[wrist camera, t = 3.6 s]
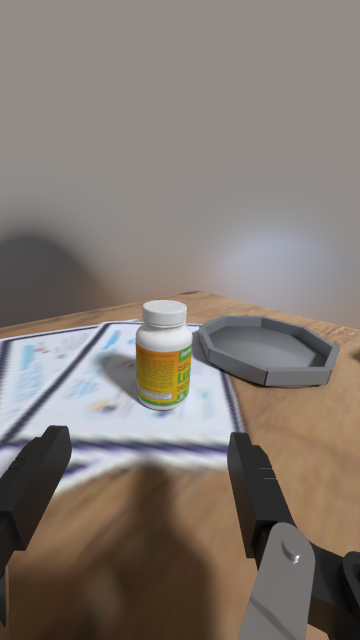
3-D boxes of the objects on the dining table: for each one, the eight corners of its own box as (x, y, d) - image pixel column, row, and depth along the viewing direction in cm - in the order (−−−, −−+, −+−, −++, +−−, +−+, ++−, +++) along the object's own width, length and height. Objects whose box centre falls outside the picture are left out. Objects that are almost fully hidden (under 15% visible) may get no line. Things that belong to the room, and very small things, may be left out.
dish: (176, 351, 32) (177, 336, 31) (234, 320, 45) (236, 309, 44) (316, 414, 22) (323, 394, 21) (339, 350, 35) (344, 336, 34)
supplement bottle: (184, 416, 21) (190, 318, 17) (129, 407, 21) (124, 311, 18) (191, 382, 26) (197, 300, 22) (146, 375, 26) (145, 295, 23)
